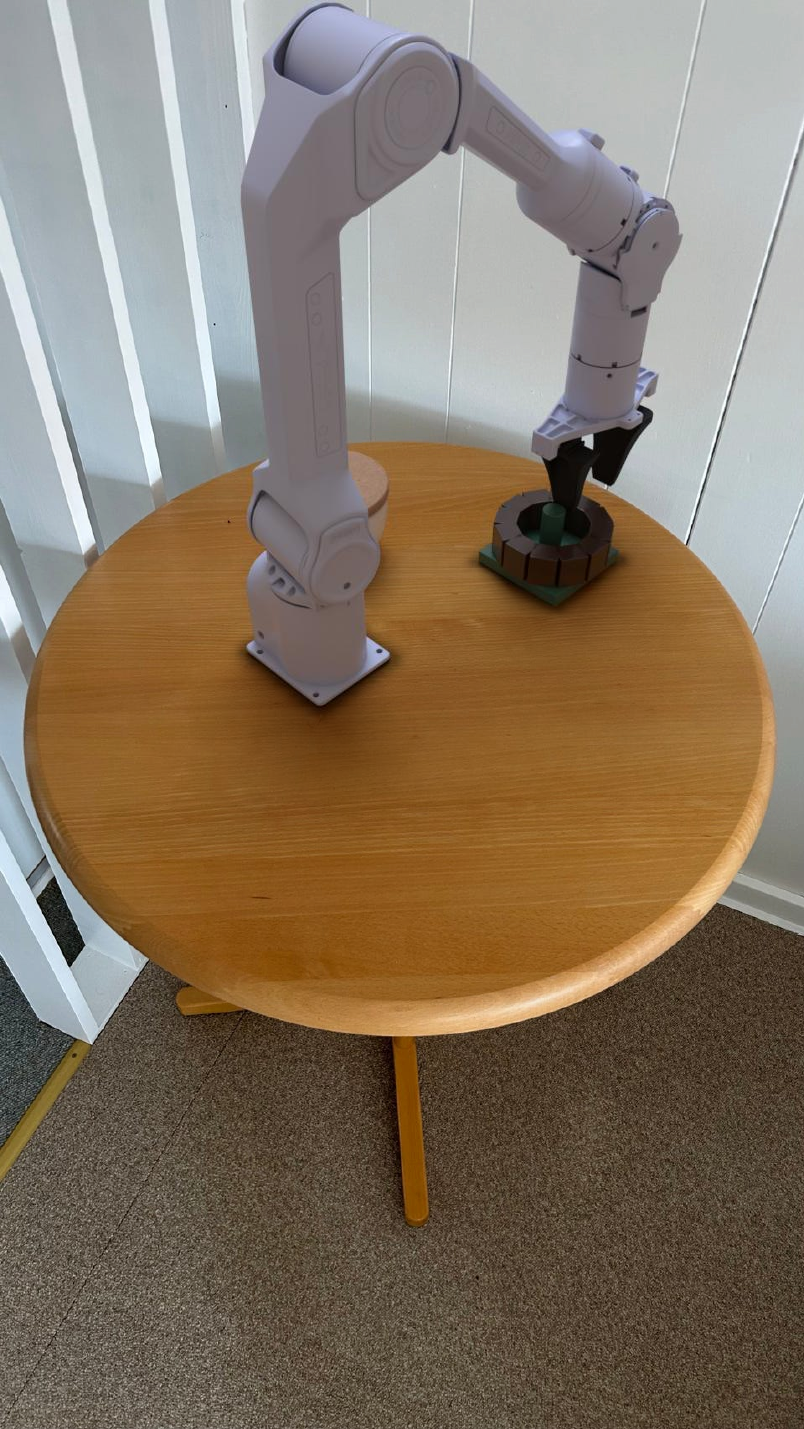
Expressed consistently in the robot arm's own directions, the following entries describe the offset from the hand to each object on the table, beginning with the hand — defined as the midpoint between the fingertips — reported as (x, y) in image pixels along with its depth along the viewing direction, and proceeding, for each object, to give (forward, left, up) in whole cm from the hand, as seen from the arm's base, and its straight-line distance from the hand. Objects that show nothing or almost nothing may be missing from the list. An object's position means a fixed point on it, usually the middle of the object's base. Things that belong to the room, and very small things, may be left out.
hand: (584, 494), depth 87 cm
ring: (0, -4, -4) cm, 6 cm away
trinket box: (-15, -17, -5) cm, 24 cm away
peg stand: (0, -4, -5) cm, 7 cm away
